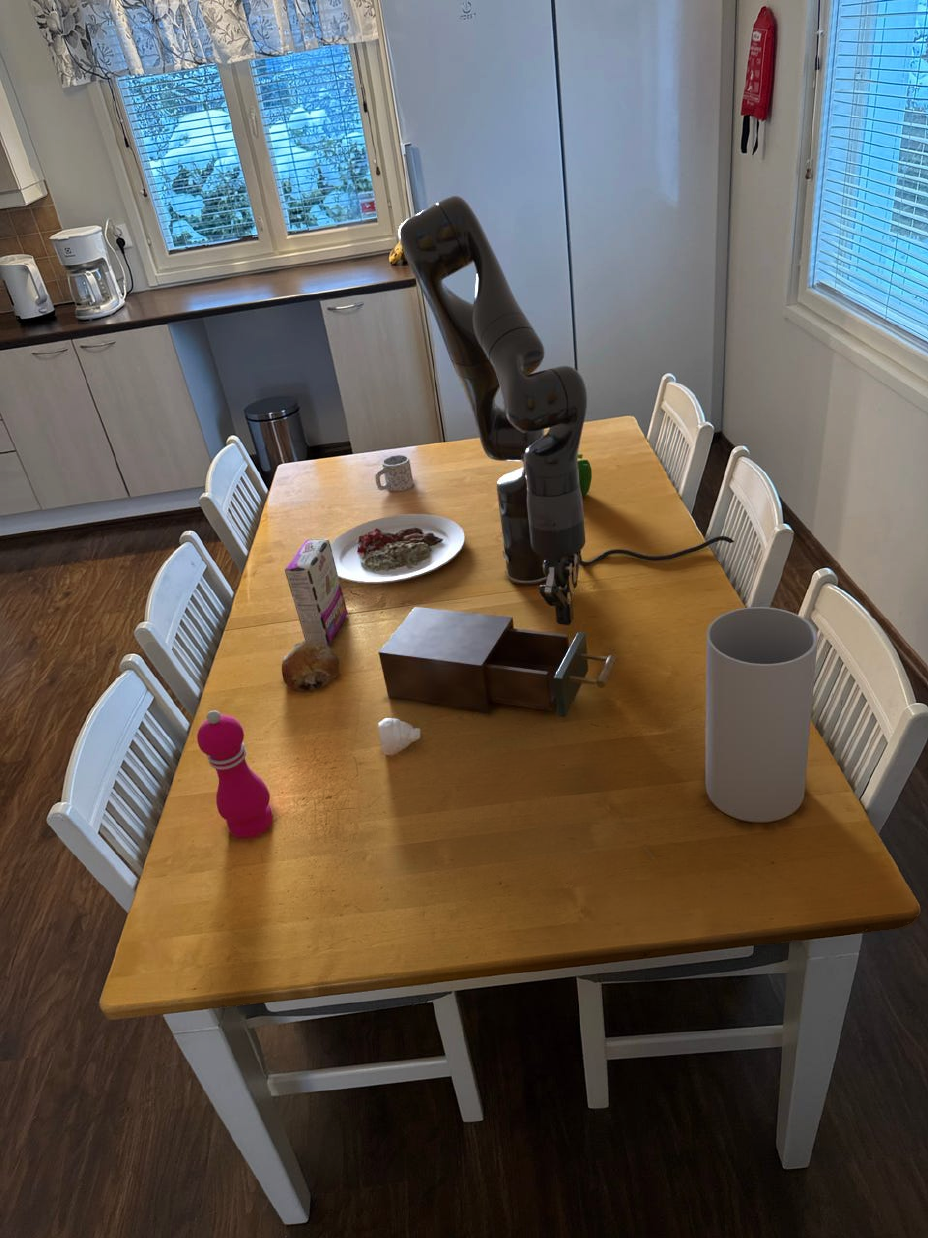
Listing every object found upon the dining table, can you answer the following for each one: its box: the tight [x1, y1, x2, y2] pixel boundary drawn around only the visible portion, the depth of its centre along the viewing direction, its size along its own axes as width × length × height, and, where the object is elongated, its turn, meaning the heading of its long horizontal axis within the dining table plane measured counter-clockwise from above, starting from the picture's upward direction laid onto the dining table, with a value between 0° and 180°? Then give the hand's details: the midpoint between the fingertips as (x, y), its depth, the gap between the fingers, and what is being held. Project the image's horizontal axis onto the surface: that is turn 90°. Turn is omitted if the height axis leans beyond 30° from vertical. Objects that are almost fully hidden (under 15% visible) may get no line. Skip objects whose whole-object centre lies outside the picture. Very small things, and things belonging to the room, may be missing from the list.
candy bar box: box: [284, 538, 349, 646], centre depth 166 cm, size 11×5×16 cm, turn 168°
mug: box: [374, 454, 414, 492], centre depth 221 cm, size 10×7×7 cm, turn 133°
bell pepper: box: [577, 453, 593, 498], centre depth 202 cm, size 8×8×10 cm
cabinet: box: [378, 606, 515, 715], centre depth 149 cm, size 18×14×9 cm
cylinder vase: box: [704, 606, 819, 824], centre depth 114 cm, size 12×12×25 cm
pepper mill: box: [196, 709, 274, 840], centre depth 123 cm, size 7×7×20 cm
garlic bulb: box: [378, 717, 422, 756], centre depth 137 cm, size 6×6×5 cm
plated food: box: [330, 513, 466, 584], centre depth 192 cm, size 30×30×3 cm
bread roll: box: [281, 641, 340, 692], centre depth 157 cm, size 10×10×8 cm
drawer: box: [484, 627, 618, 719], centre depth 142 cm, size 22×13×7 cm, turn 67°
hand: (565, 622), depth 133 cm, fingers closed
